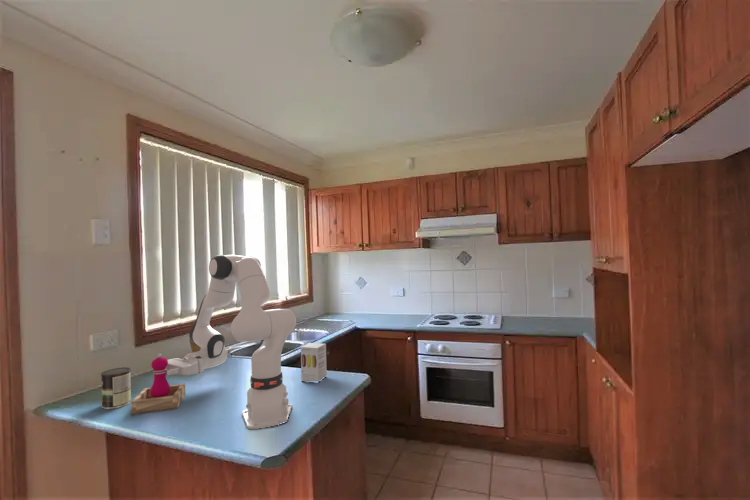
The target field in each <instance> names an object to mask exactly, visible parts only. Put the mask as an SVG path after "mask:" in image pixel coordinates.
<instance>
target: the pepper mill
mask: <svg viewBox="0 0 750 500" xmlns="http://www.w3.org/2000/svg"><path fill="white" fill-rule="evenodd" d="M162 354H163V353H162ZM162 354H161V353H157V356H156V358H154V359H153V360H152V361H151V365H150V366H151V368H152V369H153V370H152V374H153V377H154V379H153V383H152V385H151V387H150V388H151V391H150V395H151V396H152V397H153V398H157V397H165V396H169V395H168V394H169V392H170V386H169V385H170V384H169V382H168V379H167V375H166V371H167V370H166V369H167V368H166V366H167V365H168V360H169V359H167V357H163V355H162Z"/></svg>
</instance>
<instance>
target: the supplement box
mask: <svg viewBox="0 0 750 500" xmlns="http://www.w3.org/2000/svg"><path fill="white" fill-rule="evenodd" d="M300 365H301V366H300V371H301V372H300V373H301V375H300V377H301V381H319V380H321V379H322V378H323V377H325V376H326V375H328V374H327V373H328V372H327V343H321V342H319V343H318V342H317V343H316V342H308V343H306V344H304V345H302V346H301V347H300Z"/></svg>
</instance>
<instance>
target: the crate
mask: <svg viewBox="0 0 750 500" xmlns="http://www.w3.org/2000/svg"><path fill="white" fill-rule="evenodd" d="M169 386H170V392H169V394H168V395H169V396H165V397H157V398H153V397H152V396H151V395H150V391H151V387H144V388H143V389H142V390H141V391H140V392H139V393H138V395H136V397H134V399H133V400H131V402H130V404H131V406H130V407H131V415H132V416H133V415H139V414H141V415H142V414H148V413H154V412H155V413H156V412H163V411H169V410H170V411H171V410H177V409H178V408H179V406H180V405H181V403H182V402H183V399H184V398H185V396H186V383H177V384H169Z"/></svg>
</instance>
